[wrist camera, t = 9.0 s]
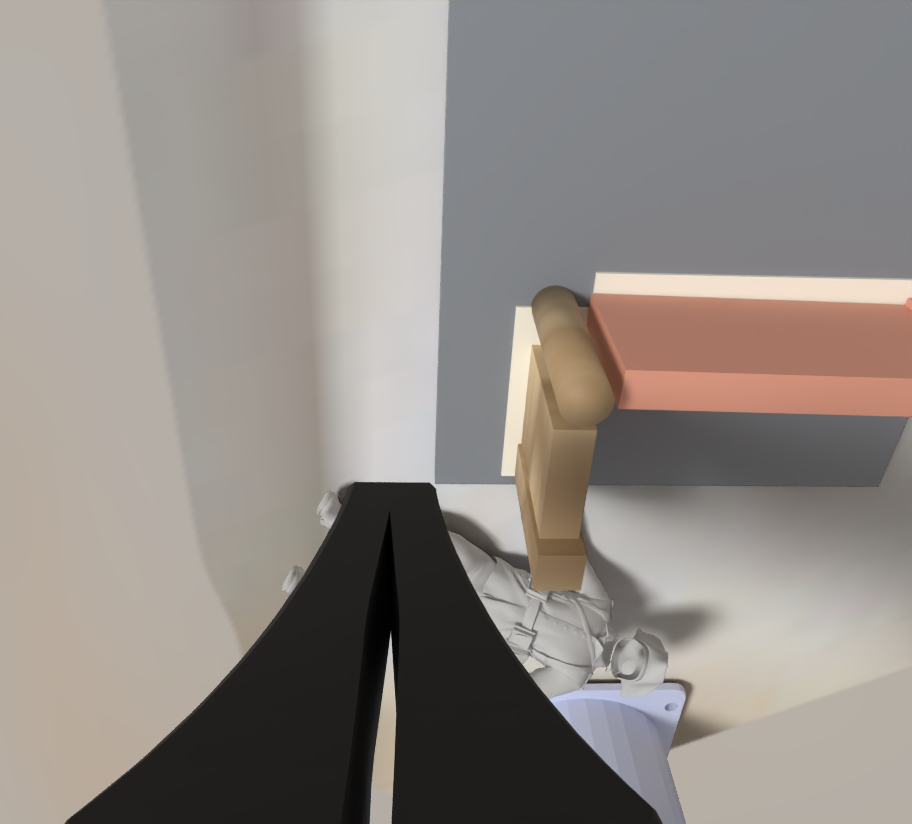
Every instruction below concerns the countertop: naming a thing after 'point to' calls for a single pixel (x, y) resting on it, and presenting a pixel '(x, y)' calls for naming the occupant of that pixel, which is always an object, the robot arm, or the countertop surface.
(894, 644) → the countertop surface
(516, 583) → the soldier figure
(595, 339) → the fence panel
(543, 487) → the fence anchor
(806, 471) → the board
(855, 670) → the countertop surface
